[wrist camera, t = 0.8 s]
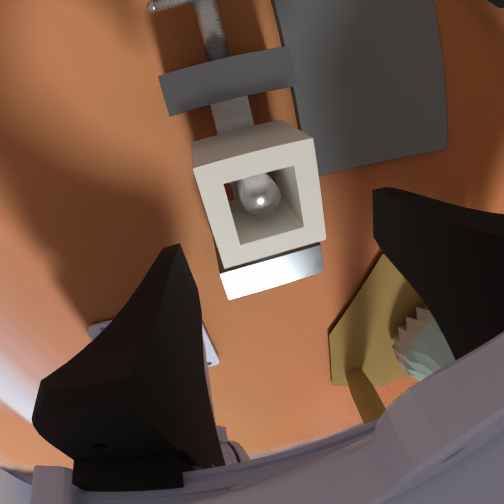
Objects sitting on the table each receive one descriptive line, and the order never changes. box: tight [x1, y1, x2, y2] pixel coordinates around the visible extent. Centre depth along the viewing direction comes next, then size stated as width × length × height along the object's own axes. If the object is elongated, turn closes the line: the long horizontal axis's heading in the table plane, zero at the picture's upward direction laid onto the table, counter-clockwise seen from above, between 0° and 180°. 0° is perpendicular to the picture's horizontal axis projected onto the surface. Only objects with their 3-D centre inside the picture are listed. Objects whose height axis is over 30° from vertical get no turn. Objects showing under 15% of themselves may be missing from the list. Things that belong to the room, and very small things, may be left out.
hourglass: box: [329, 254, 455, 425], centre depth 21 cm, size 24×22×25 cm
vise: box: [146, 0, 324, 300], centre depth 16 cm, size 17×6×6 cm, turn 12°
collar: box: [191, 119, 326, 269], centre depth 16 cm, size 5×5×5 cm
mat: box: [271, 0, 447, 176], centre depth 18 cm, size 12×12×1 cm
